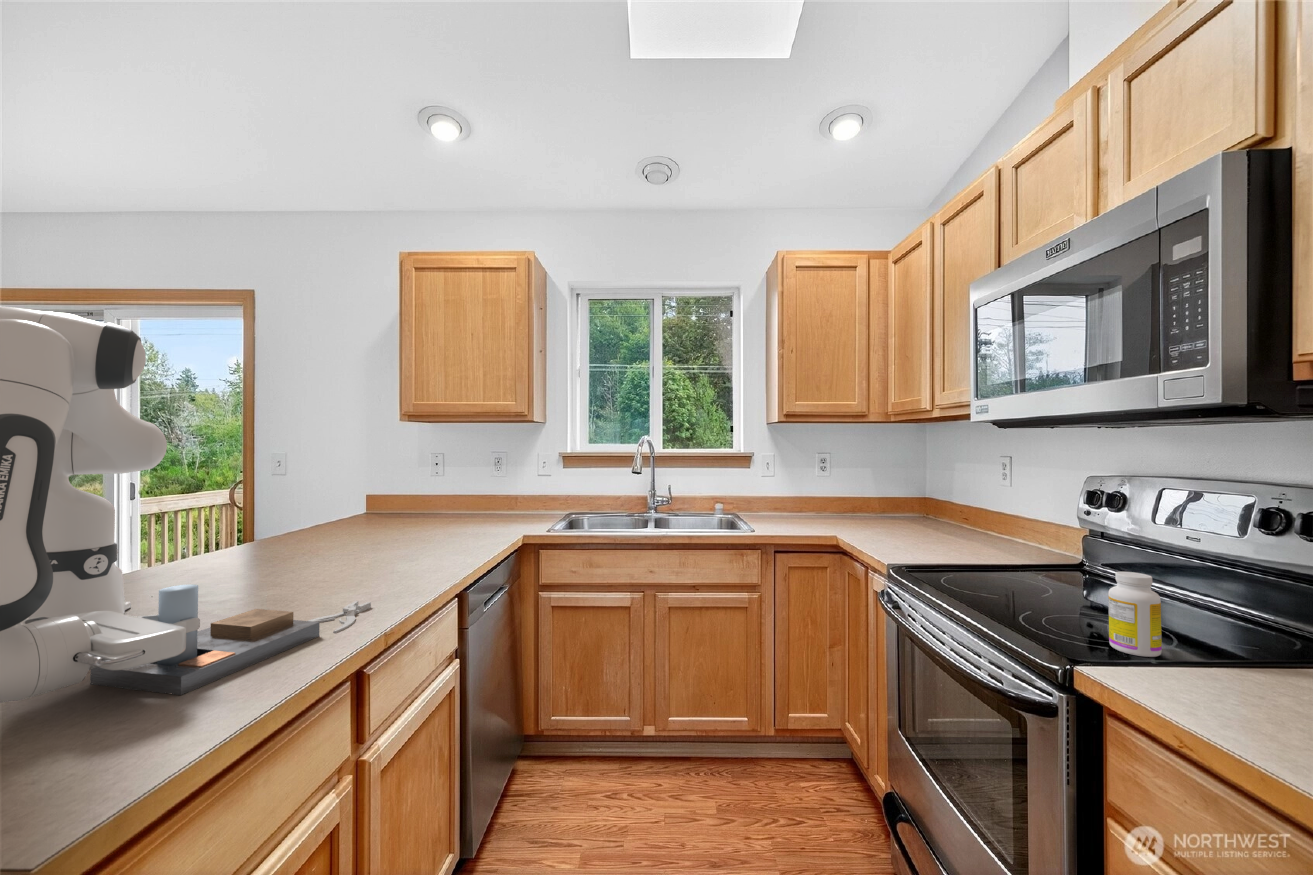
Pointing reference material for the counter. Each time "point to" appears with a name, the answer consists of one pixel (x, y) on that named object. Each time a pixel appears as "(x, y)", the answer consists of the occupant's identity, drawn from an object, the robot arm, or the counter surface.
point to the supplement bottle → (1135, 615)
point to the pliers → (348, 611)
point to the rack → (217, 653)
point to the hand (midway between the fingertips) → (185, 620)
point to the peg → (179, 616)
